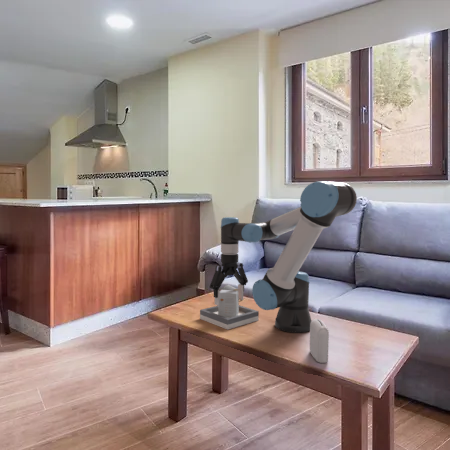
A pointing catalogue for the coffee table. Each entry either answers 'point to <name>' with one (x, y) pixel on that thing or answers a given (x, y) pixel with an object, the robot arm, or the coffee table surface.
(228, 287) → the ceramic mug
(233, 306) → the small box
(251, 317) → the square gray-rimmed holder
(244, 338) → the coffee table surface
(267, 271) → the robot arm
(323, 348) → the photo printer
